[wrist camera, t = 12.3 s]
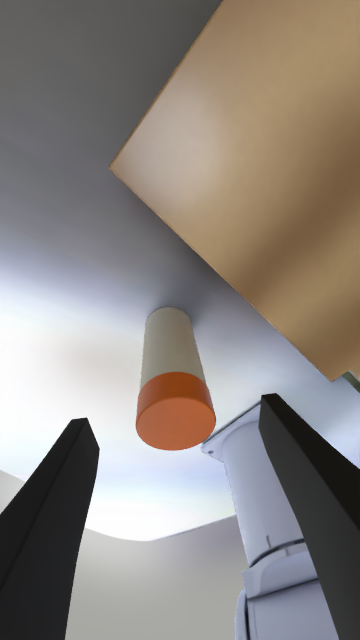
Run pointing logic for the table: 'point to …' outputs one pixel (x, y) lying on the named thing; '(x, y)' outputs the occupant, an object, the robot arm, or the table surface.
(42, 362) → the table surface
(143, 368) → the glue stick
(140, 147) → the cabinet
